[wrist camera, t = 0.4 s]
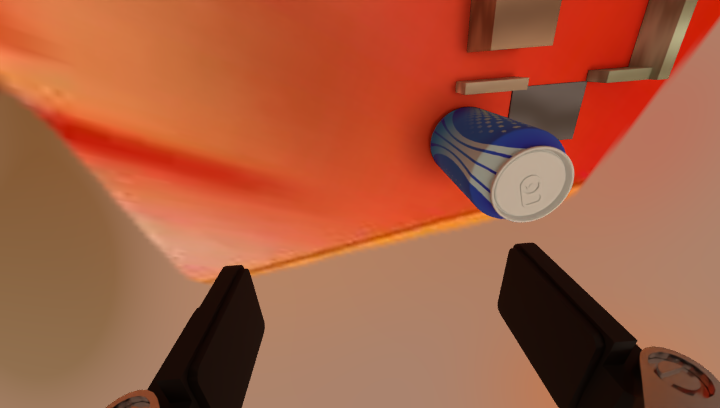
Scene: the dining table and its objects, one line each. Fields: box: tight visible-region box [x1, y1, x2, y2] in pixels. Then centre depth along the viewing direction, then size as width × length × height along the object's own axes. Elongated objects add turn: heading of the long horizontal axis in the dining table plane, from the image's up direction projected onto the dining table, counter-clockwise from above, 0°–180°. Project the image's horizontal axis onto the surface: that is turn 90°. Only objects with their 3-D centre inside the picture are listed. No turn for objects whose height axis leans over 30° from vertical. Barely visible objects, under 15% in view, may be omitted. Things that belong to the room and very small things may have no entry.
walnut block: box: [467, 0, 562, 52], centre depth 29 cm, size 6×6×6 cm
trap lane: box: [456, 0, 698, 140], centre depth 29 cm, size 28×22×4 cm
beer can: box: [431, 107, 574, 222], centre depth 30 cm, size 8×8×16 cm
